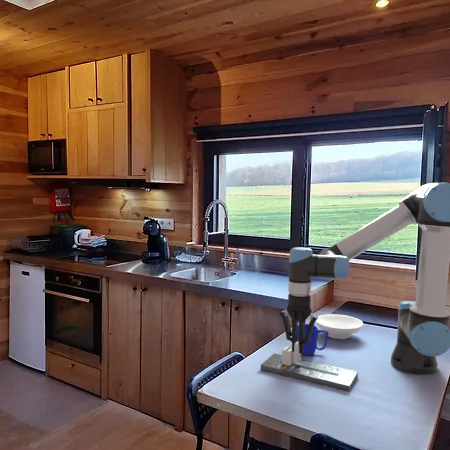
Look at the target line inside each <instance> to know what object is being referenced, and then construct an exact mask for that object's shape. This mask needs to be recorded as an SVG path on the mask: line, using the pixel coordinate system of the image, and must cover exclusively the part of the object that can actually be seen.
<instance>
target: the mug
mask: <svg viewBox="0 0 450 450" xmlns="http://www.w3.org/2000/svg"><path fill="white" fill-rule="evenodd" d="M308 326H309V323H305V336H306V333H307V329H308ZM320 333H324V334H325V341H324V344H323V346H322V347H320V348H319V347H318V345H317V344H318V338H319V337H318V336H319V334H320ZM328 337H329V336H328V331H325V330H322V329H319V327H318V326H317V325H314V327H313V331H312V334H311V338H310V341H309V342H308V343H307V344H304V352H303V353H302V354H301V356H302V355H303V356H313V355H314V354H315V353H316V350H318V351H324V350H325V348H326V347H327V344H328ZM297 339H298V340H297V341H298V342H299V324H298V335H297Z"/></svg>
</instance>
